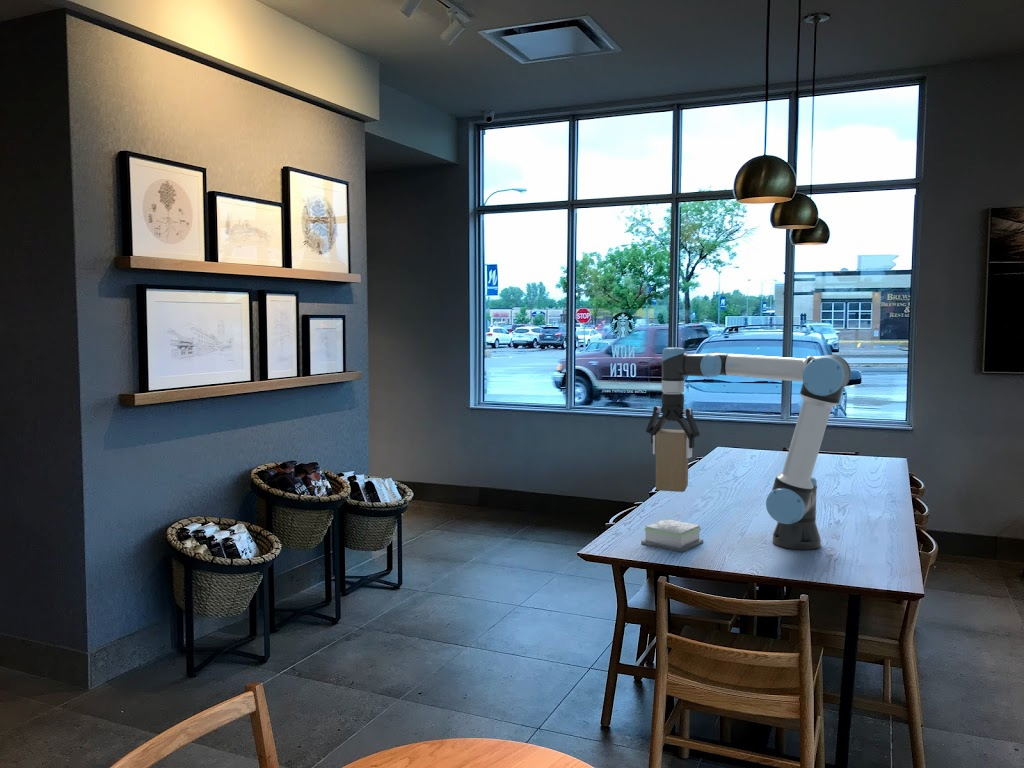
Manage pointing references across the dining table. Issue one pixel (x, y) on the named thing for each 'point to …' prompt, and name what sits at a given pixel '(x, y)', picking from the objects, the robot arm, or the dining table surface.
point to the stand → (672, 535)
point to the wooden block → (671, 460)
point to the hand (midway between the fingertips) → (672, 455)
